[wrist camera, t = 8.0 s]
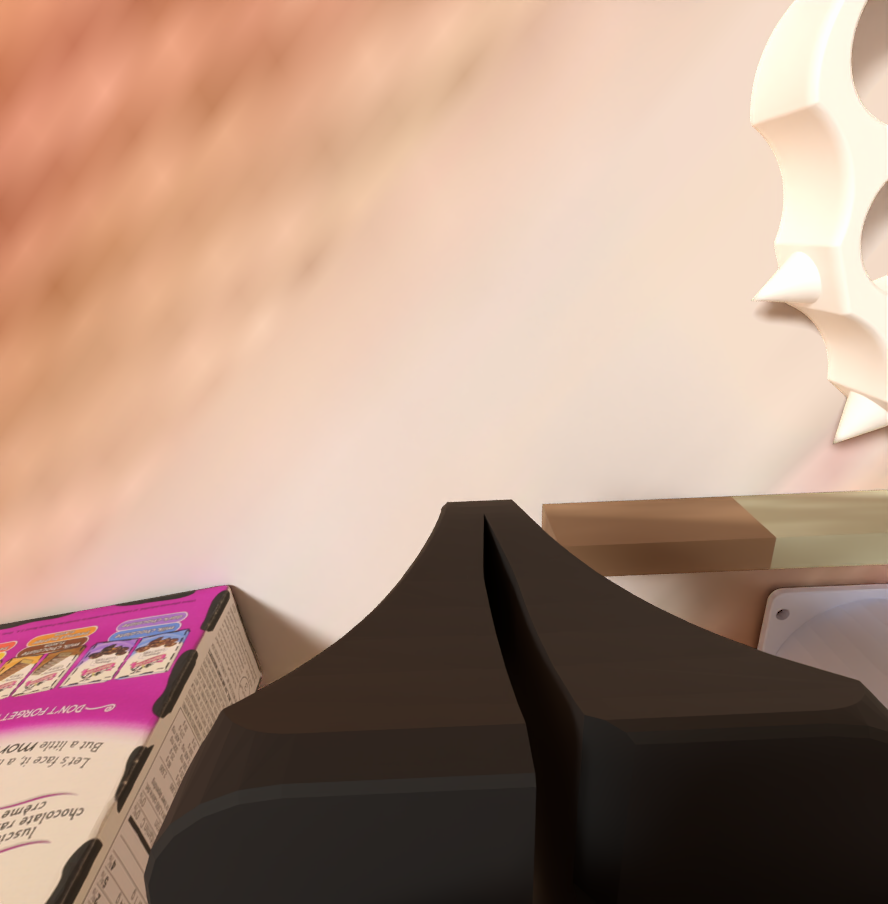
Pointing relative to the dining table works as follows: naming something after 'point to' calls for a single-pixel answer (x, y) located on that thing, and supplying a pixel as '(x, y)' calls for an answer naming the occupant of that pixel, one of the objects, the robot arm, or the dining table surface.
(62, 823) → the candy bar box
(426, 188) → the dining table surface
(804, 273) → the white brass knuckles
